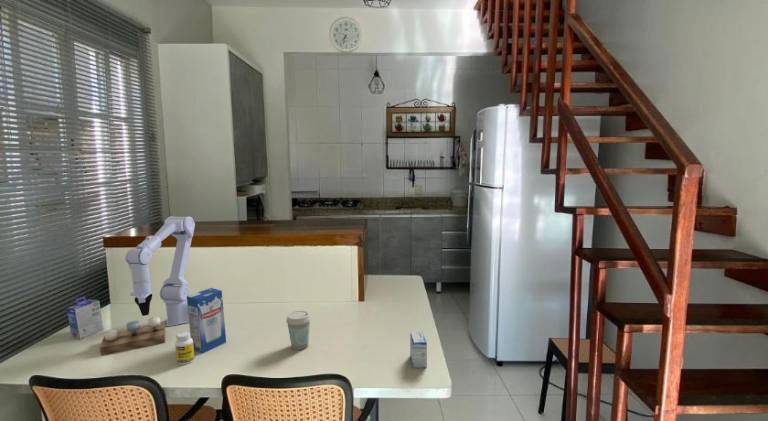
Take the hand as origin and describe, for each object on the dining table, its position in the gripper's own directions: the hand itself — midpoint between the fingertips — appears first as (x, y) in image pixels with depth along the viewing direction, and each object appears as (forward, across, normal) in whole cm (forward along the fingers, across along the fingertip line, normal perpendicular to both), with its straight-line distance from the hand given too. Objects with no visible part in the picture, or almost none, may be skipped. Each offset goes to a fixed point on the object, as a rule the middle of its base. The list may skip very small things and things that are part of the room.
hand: (145, 314), depth 158 cm
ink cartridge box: (+10, -19, -22) cm, 31 cm away
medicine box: (+10, +63, +81) cm, 103 cm away
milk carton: (+10, +17, +20) cm, 28 cm away
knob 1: (+9, 0, -11) cm, 14 cm away
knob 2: (+7, 0, +3) cm, 7 cm away
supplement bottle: (+10, +25, +12) cm, 30 cm away
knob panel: (+10, 0, -4) cm, 11 cm away
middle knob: (+6, 0, -4) cm, 8 cm away
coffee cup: (+10, +34, +49) cm, 61 cm away
